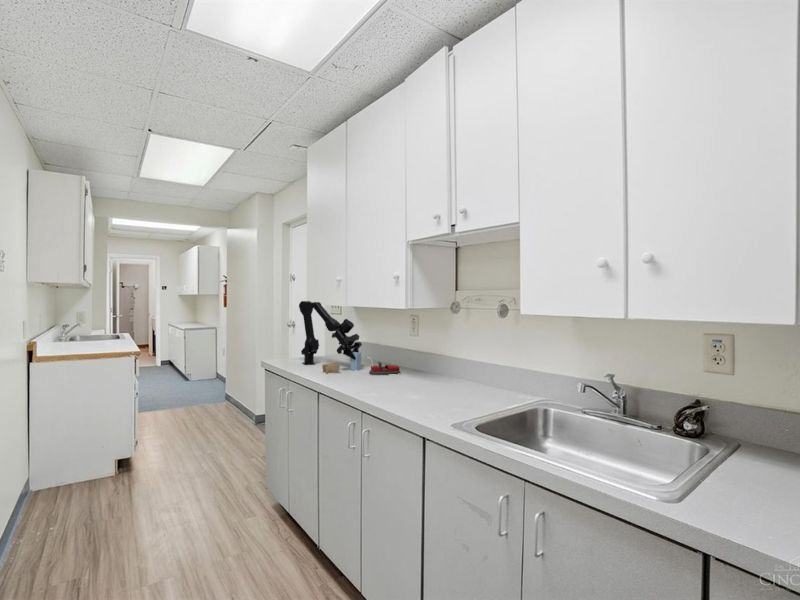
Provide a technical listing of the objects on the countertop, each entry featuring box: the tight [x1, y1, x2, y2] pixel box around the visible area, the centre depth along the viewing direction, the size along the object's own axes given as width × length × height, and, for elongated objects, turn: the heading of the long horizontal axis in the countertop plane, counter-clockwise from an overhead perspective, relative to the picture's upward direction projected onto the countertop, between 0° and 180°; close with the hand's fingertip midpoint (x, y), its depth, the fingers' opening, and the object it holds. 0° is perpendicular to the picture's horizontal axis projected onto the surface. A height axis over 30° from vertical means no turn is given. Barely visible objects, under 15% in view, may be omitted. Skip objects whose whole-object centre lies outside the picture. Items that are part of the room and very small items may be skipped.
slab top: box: [321, 363, 341, 370], centre depth 236 cm, size 7×7×2 cm
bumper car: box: [365, 356, 401, 376], centre depth 236 cm, size 10×20×10 cm, turn 108°
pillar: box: [349, 351, 362, 371], centre depth 246 cm, size 4×4×10 cm
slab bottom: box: [322, 369, 340, 375], centre depth 236 cm, size 7×7×2 cm
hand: (357, 358), depth 245 cm, fingers closed on pillar, 4 cm apart
